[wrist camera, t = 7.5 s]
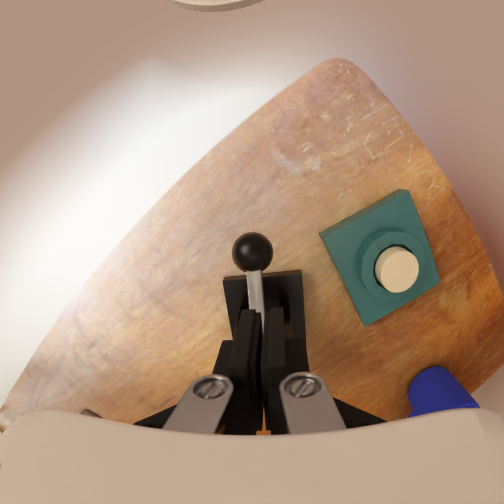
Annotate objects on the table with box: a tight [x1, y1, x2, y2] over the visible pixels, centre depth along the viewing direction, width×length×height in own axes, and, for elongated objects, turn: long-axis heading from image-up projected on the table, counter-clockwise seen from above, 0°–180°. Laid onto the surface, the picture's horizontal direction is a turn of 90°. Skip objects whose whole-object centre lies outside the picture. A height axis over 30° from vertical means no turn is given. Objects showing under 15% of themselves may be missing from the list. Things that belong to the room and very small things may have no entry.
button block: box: [319, 189, 440, 326], centre depth 27 cm, size 11×10×4 cm
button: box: [375, 246, 419, 293], centre depth 25 cm, size 4×4×2 cm
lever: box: [232, 232, 273, 329], centre depth 22 cm, size 13×3×3 cm, turn 7°
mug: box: [408, 366, 480, 418], centre depth 29 cm, size 8×12×10 cm
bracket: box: [223, 270, 306, 345], centre depth 26 cm, size 10×8×13 cm
